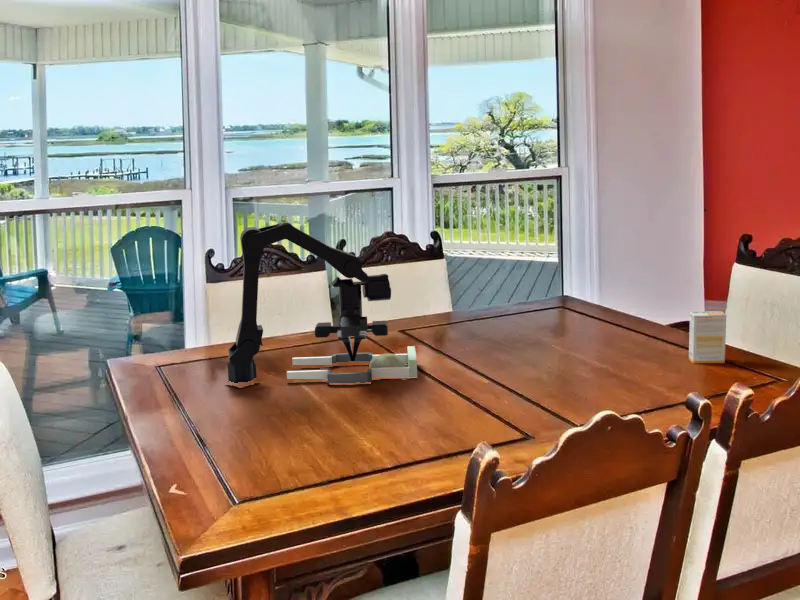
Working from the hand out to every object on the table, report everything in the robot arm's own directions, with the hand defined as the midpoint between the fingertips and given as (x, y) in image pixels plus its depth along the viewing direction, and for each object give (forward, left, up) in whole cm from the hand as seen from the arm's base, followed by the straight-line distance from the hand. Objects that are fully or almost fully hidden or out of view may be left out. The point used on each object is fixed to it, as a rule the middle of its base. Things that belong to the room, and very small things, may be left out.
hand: (352, 361), depth 217 cm
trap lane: (-1, +1, -3) cm, 4 cm away
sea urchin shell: (+6, -6, -4) cm, 10 cm away
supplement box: (+64, -67, -4) cm, 93 cm away
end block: (+11, -11, -3) cm, 16 cm away
